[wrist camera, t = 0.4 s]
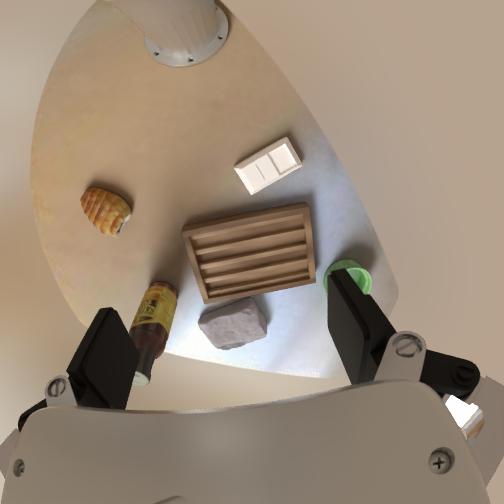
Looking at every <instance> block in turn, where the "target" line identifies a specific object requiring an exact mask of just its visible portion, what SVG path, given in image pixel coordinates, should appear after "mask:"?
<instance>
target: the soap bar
mask: <svg viewBox="0 0 504 504" xmlns="http://www.w3.org/2000/svg"><path fill="white" fill-rule="evenodd" d="M301 166H303V165H302V163H301V161H300V159H299V157H298V156H297V154H296V152H295V150H294V148H293V147H292V145H291V143H290V141H289V140H288V138H287V137H284V138H282V139H280V140H278V141H277V142H275V143H273V144H271V145H269V146H268V147H266V148H264V149H262V150H261V151H259V152H257V153H256V154H254V155H252V156H250V157H249V158H247V159H245V160H244V161H242V162H240V163H239V164H237V165H236V166H234V169H235V170H236V172H237V173H238V175H239V177H240V178H241V180H242V181H243V183H244V184H245V186H246V187H247V189H248V191H249V192H250V194H251V195H253V194H254V193H256V192H258V191H259V190H261V189H263V188H264V187H266V186H268V185H270V184H271V183H273V182H275V181H276V180H278V179H280V178H282V177H283V176H285V175H287V174H289V173H290V172H292V171H294V170H296V169H297V168H299V167H301Z"/></svg>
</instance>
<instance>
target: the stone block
mask: <svg viewBox="0 0 504 504" xmlns="http://www.w3.org/2000/svg"><path fill="white" fill-rule="evenodd" d="M198 325H199V327H200V329H201V330H202V331H203V333H204V334H205V335H206V336H207V338H208V339H209V340H210V342H211V343H212V344H213V345H214V346H215V347H216V348H218V349H222V350H230V349H231V348H237V347H240V346H243V345H245V344H246V343H251V342H253V341H255V340H259V339H261V338H264V337H265V336H266V335H267V324H266V320H265V316H264V315H263V314H262V313H261V311H260V310H259V309H258V307H257V305H256V303H255V301H254V300H253V299H252V298H251V297H249V298H245V299H243V300H240V301H237V302H235V303H232V304H230V305H227V306H224V307H222V308H219V309H217V310H214V311H211V312H208V313H206V314H203V315H202V316H201V317H200V318H199V321H198Z"/></svg>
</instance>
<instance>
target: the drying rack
mask: <svg viewBox="0 0 504 504" xmlns="http://www.w3.org/2000/svg"><path fill="white" fill-rule="evenodd" d="M181 234H182V237H183V240H184V244H185V247H186V250H187V253H188V256H189V260H190V263H191V266H192V269H193V272H194V275H195V278H196V281H197V284H198V287H199V290H200V293H201V296H202V298H203V301H204V304H209V303H215V302H220V301H226V300H231V299H237V298H242V297H248V296H253V295H258V294H263V293H268V292H273V291H278V290H283V289H288V288H293V287H297V286H302V285H307V284H311V283H316V274H315V261H314V249H313V237H312V227H311V217H310V208H309V206H308V205H307V203H306V202H303V203H297V204H291V205H286V206H280V207H275V208H270V209H264V210H259V211H254V212H249V213H244V214H239V215H234V216H229V217H224V218H220V219H215V220H210V221H206V222H201V223H196V224H192V225H187V226H183V229H182V231H181Z"/></svg>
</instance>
